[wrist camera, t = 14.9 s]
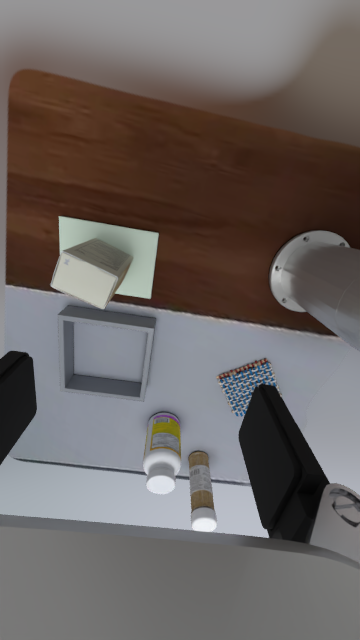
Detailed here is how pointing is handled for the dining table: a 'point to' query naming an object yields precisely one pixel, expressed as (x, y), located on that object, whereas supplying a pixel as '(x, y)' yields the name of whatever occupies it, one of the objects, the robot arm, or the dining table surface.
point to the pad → (122, 238)
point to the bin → (95, 384)
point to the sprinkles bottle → (201, 493)
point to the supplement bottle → (162, 453)
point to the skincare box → (91, 271)
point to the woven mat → (245, 384)
